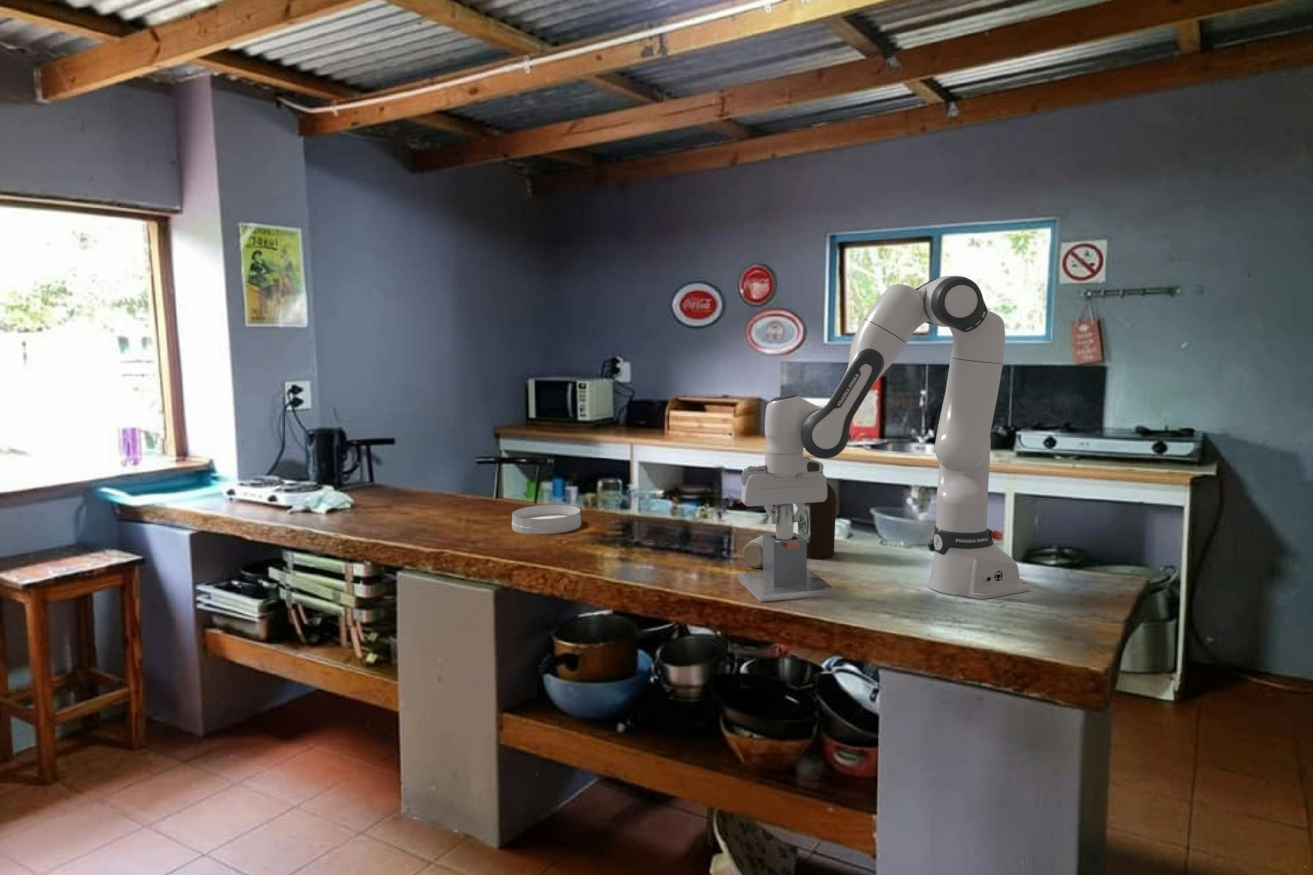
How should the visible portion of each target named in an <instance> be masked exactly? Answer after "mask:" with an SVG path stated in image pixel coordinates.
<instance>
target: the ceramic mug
mask: <svg viewBox="0 0 1313 875" xmlns="http://www.w3.org/2000/svg"><path fill="white" fill-rule="evenodd" d="M766 534H767V533H765V534H764V533H763V534H762V535H759V536H758V537H756V538H753V539H752V540H749V541H748V542H747V544H745V545H744V547H743V551H742V556H743V560H744V561H745V563H746V564H747V565H748V566H749V567H751V568H752V569H753V568H754V569H761V568H762V569H763V535H766Z"/></svg>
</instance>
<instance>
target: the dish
mask: <svg viewBox="0 0 1313 875" xmlns="http://www.w3.org/2000/svg"><path fill="white" fill-rule="evenodd" d="M511 519H512V521H511V529H512V530H513V531H514V532H516V533H519V534H524V535H525V534H526V535H552V534H553V535H554V534H560V533H561V534H562V533H566V532H567V533H568V532H571V531H574V530H577V529H579V528H580V527H581V526H582V517H581V509H580V508H579V507H576V506H573V505H563V504H542V505H541V504H540V505H533V506H526V507H521V508H519V509H516V510H514V511H513V512H512V513H511Z"/></svg>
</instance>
